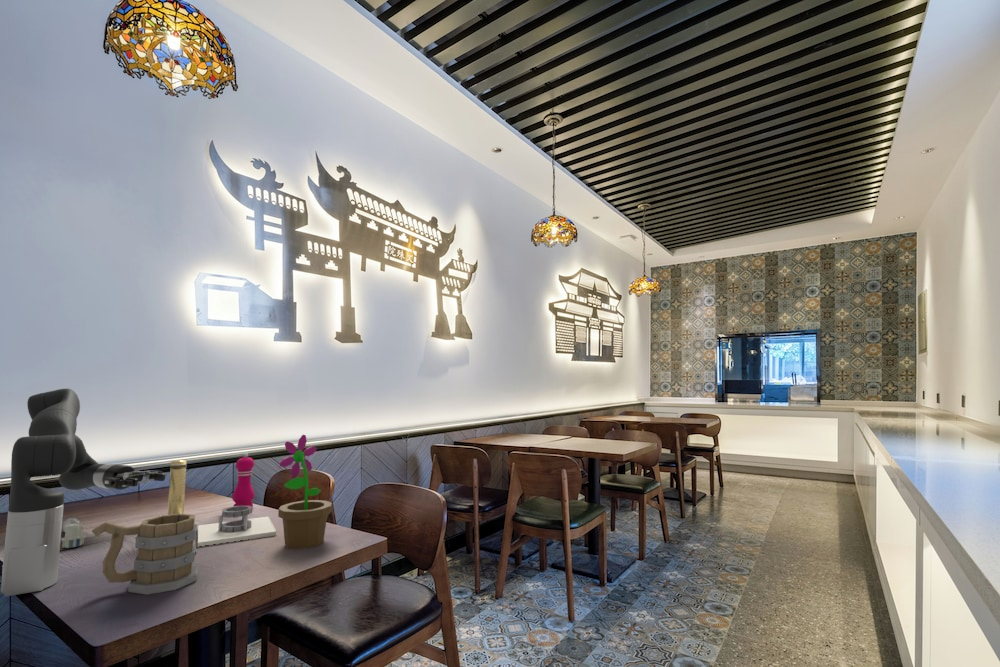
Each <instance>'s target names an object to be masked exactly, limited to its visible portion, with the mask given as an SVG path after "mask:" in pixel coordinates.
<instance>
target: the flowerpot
mask: <svg viewBox="0 0 1000 667" xmlns="http://www.w3.org/2000/svg"><path fill="white" fill-rule="evenodd" d="M307 442H308V440H307V436H306V434H302V435H301V436H300V438H299V439H298V443H297V447H296V445H295V444H294V443H293V442H291V441H286V442H284V448H285V449H286V451H287V452H288V453H289V454H293V456H287V457H285V458H283V459H282V460H281V461H280V462H279V466H280V467H281V468H282V467H285V468H287V467H289V466H291V465H292V467H291V469H290V477H291V479H290V480H289V481H287V482H286V483H284V485H283V487H285V488H287V489H290V490H299V489H301V488H303V487H304V497H303V498H304V500H300V501H293V502H289V503H286V504H282V505H280V507H279V508H278V514H277V515H278V516H277V517H278V518H281V519H282V524H283V525H282V526H283V528H282V529H283V538H284V545H285V547H286V548H288V549H294V550H299V549H309V548H313V547H317V546H319V545H321V544H323V543H324V539H325V535H326V534H325V533H326V527H327V521H328V520H327V519H328V515H330V514H331V513H332V510H333V508H332V507H333V503H332V502H330V501H328V500H321V499H320V500H319V499H311V500H309V496H310V497H313V496H317V495H318V494H320V493H321V489H319V488H318V487H312V488H309V478H308V471H309V472H311V471H312V469H313V465H312V463H311V461H309V460H308V459H305V457H310V456H311V455H312V456H313V455H314V454H315V453H316V451H317V447H316V446H309V447H306V444H307ZM297 448H298V449H297ZM303 450H304V451H303ZM300 463H301V466H300ZM301 467H302V470H303V476H304V477H299V476H298V475H299V472H300V469H301Z"/></svg>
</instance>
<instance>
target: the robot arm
mask: <svg viewBox="0 0 1000 667" xmlns="http://www.w3.org/2000/svg"><path fill="white" fill-rule="evenodd" d="M26 404H27V411H28V414H29V416H30V418H31V422H30V425H29V428H28V436H22V437H19V438H17V439H16V440H15V442H14V444H13V446H12V451H11V461H10V462H11V467H10V469H11V470H10V471H11V472H10V489H9V491H10V492H9V502H8V509H7V510H8V511H7V519H6V522H7V523H6V527H5V528H6V529H5V531H6V532H5V541H4V551H3V562H2V570H1V571H2V572H1V574H2V575H1V584H0V585H1V586H0V594H2V595H3V596H4V597H11V596H17V595H22V594H28V593H34V592H40V591H43V590H44V589H47V588H49V587H51V586H54V585H55V584H56V583H57V582H58V574H59V565H60V551H61V542H62V541H61V538H62V530H61V529H62V523H63V518H64V517H63V515H64V505H65V504H64V503H65V494H64V492H63V491H61V490H58V489H51V488H46V487H42V486H39V485H37V484H35V483H33V482H32V480H31V478H38V477H39V478H40V477H41V478H42V477H43V478H44V477H51V476H58V477H59V478H58V482H59V484H60V485H61V487H63V488H64V489H67V490H70V491H78V490H83V489H87V488H88V489H89V488H91V487H95V488H96V487H99V488H103V489H107V490H108V489H109V490H117V491H118V490H119V491H122V490H126V489H127V488H129V487H138V485H139V484H141V483H142V484H143V483H148V482H150V481H151V482H152V481H156V482H164V481H165V479H166V474H165V473H163V471H162V470H151V469H147V470H144V471H143V470H141V471H140V470H135V467H133V466H131V465H128V464H116V463H115V464H114V463H109V464H105V463H99V462H97V461H96V460H95V459H94V458H93V457H92V456H91V455H90V454H89V453H88V452H87V450H86V447H85V444H84V443H83V440H82V439H81V438H80V437H79V436H78V435H76V433H77V432H76V431H77V425H78V424H77V422H78V421H77V418H78V416H79V414H80V410H81V404H80V399H79V396H78V394H77V393H76V392H75V391H74V389H71V388H59V389H56V390H50V391H45V392H41V393H36V394H34V395H31V396H29V397H28V399H27V403H26Z"/></svg>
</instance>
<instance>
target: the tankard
mask: <svg viewBox="0 0 1000 667" xmlns="http://www.w3.org/2000/svg"><path fill="white" fill-rule="evenodd" d="M195 519H196V515H195V514H190V513H184V514H172V515H168V514H165V515H161V516H160V515H158V516H155V517H151V518H148V519H144V520H143V521H141V524H140V525H133V526H122V525H119V524H115V523H111V522H108V521H105V522H103V523H101V524H99V525H98V526H95V527H94V528H93V529H91V533H92V534H93V535H94V536H95V537H98V536H100V535H101V534H103V533H107V534H110V535H111V540H110V545H109V548H108V551H107V553H106V555H105V556H104V558H103V561H102V573H103V576H104V577H105V579H106V581H108V583H110V584H111V583H117V584H118V583H119V584H120V583H121V584H122V583H127V582H129V584H128V588H127V589H128V593H133V594H138V595H145V596H149V595H154V594H155V595H156V594H160V593H161V594H162V593H167V592H173V591H176V590H178V589H181V588H183V587H185V586H189V585H190V584H193V583H194V582H196V581H197V579H198V573H199V566H197V565H193V563H194V562H195V559H196V555H197V553H198V552H197V546H196V545H194V541H196V538H197V536H198V524H195V521H196V520H195ZM133 535H136V536H135V546H134V548H136V549H137V550H138V552H137V556H136V557H135V558H134V560H133V569H130V570H127V571H118V570H117V568H116V560H117V558H118V556H119V554H120V552H121V550H122V548H123V545H124V539H125V536H133Z"/></svg>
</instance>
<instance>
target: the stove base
mask: <svg viewBox="0 0 1000 667" xmlns="http://www.w3.org/2000/svg"><path fill="white" fill-rule="evenodd" d="M252 513H253V508H252V506H234V505H233V506H229V507H225V508H224V509H221V515H218V522H216V523H214V522H213V523H209V524H208V523H206V524H201V525H200V524H198V525H197V531H198V533H197V548H200V547H199V546H202V547H206V546H205V545H209V546H214V545H213V544H216V545H220V544H219V543H223V544H227V543H226V542H229V543H234V541H236V542H241V541H240V540H243V541H247V540H248V539H249V540H255V539H262V538H269V537H274V536H277V530H276V528H275V526H274V524H273V522H272V520H271V519H270V516H260V517H255V518H248V516H249V515H250V514H252ZM238 517H241V519H235V520H229V521H223V520H224V519H223V518H238ZM249 540H248V541H249Z"/></svg>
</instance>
